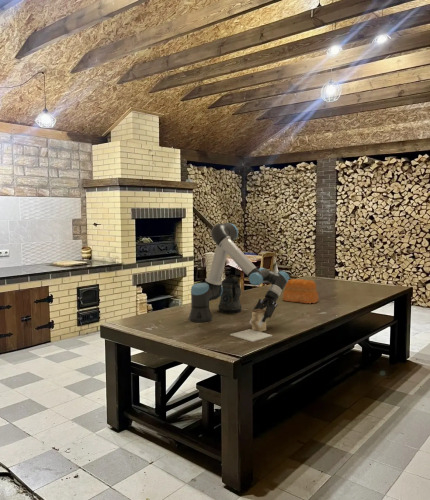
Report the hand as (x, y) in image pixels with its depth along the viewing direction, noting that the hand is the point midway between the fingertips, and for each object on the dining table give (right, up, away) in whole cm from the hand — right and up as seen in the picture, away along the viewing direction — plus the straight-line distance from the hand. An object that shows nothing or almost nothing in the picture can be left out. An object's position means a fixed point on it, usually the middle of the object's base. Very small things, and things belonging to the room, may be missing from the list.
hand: (254, 324), depth 258 cm
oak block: (+3, -4, +3) cm, 5 cm away
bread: (+44, +4, +86) cm, 96 cm away
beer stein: (-12, 0, +54) cm, 55 cm away
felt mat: (-3, -5, -9) cm, 11 cm away
